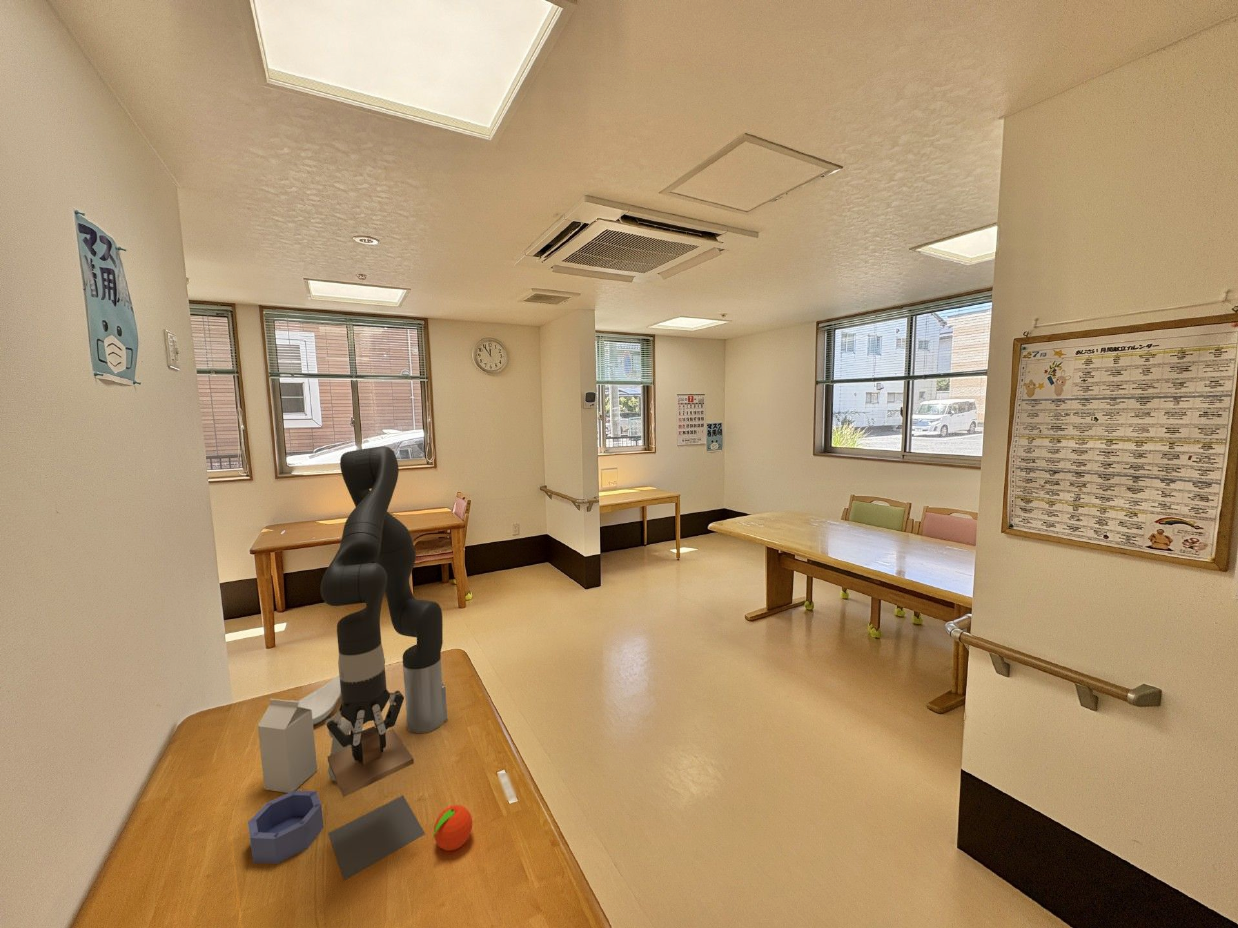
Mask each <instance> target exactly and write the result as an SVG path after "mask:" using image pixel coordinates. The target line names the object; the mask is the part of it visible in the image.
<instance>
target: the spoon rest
mask: <svg viewBox="0 0 1238 928" xmlns="http://www.w3.org/2000/svg"><path fill="white" fill-rule="evenodd" d="M340 696H341V688H340V678H339V675H338V676H336V677H335V678H333V679H331V680H330V681H329V682H327V683H325V684H324V685H322V686H321V687H319V688H317V689H316V690H315V691H312V692H311V693H309V694H308V695H305V696H304V697H303V698H301V699H299V700H298V701H299V704H298V707H302V708H306V709H310V710H312V718H313V726H314V725H316V724H319V723H321V722H322V721H325V719H326V718H327V717H329V715H330V714H331V713H332V712H333V710H334V709H335V707H336V704H337V703H338V700H339V698H340Z"/></svg>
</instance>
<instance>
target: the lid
mask: <svg viewBox="0 0 1238 928" xmlns="http://www.w3.org/2000/svg"><path fill="white" fill-rule="evenodd" d="M385 734H386V747H385V748H383V752H382V753H381V751H380V739H379V732H378V731H377V729H376V727H375V725H373V726H370V727H369V728H366V729H364V730H363V729H362V732H361V738H360V742H361V745H362V756H363V761H362V762H358V760H357V761H355V760H354V758H353V756H352V748H351V747H349V748H346V749H344V750H342V751H339V752H337V753H335V754H332V755H328V756H327V762H328V766H329V765H330V768H331V770H332V772H333V775H334V777H335V779H336V781H335V783H336V784H337V786H338V788H339V790H340V793H341V796H342V798H346V796H349V795H351V794H353V793H356V792H358V791H360V790H362V789H363V788H365V787H368V786H370V785H372V784H374V783H377V782H378V781H380V780H382V779H384V778H386V777H388V776H391V775H393V774H394V773H397V772H400V771H401V770H404V769H405V768H407V767H409V766H412V765H414V764H415V759H414V757H413V755H412V754H411V752H410V751H409V749H408V748H407V746H405V744H404V742H403V741H402V739H401V737H400V736H399V735H398V734H397V732H396V730H395V729H394V728H391V729H389V730H386V733H385Z"/></svg>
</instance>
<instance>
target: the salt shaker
mask: <svg viewBox="0 0 1238 928" xmlns="http://www.w3.org/2000/svg"><path fill="white" fill-rule="evenodd" d="M340 728H341V730H342V731H343V732H344V733H345V735H350V729H351V728H350V722H349V721H348V720H346V719H345V718H342V719H341V726H340ZM328 735H329V737H330V738H332V741H331V748H330V755H332V754H335V753H337V752H339V751H342V750H344V749H346V748H349V747H351V745H348V746H346V747H342V745H341V744H340V743H339V742H338V740H337V739H336V738H335V737H334V736H333V734H332V733H331V732H330V731H329V730H328ZM330 755H329V756H330ZM327 773H328V776H329V778H330V780H331V781H332V782H333V783H336V779H335V777H334V775H333V772H332V770H331V768H330V765H329V764H328V770H327Z"/></svg>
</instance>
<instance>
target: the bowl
mask: <svg viewBox="0 0 1238 928" xmlns="http://www.w3.org/2000/svg"><path fill="white" fill-rule="evenodd" d="M322 808H323V807H322V803H321V800H320V796H319V794H318V791H317V790H298V789H296V790H294V791H292V792H290V793H285V794H284V795H281V796H278V797H276V798H275V799H271V800H270V801H267V802H266V803H265V804H264V805H263V806H262V807H261V808H260V809H259V810H258V811H257V812H256V813H255V814H254V815H253V816H252V817H251V818H250V819H249V821H248V822H247V826H248V827H247V828H248V834H249V843H250V851H251V859H252V863H253V864H271V865H273V864H276V865H278V864H280V863H281V862H284V861H285V860H287V859H289V858H291V857H293V856H295V855H297V854H298V853H301V852H303V851H305V850H307V849H308V848H309V846H311V844H312V843H313V841H315V839H316V838H317V837H318V835H319V834H320V833H321V831H322V830H323V829H324V822H323V821H324V818H323V809H322Z"/></svg>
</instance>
